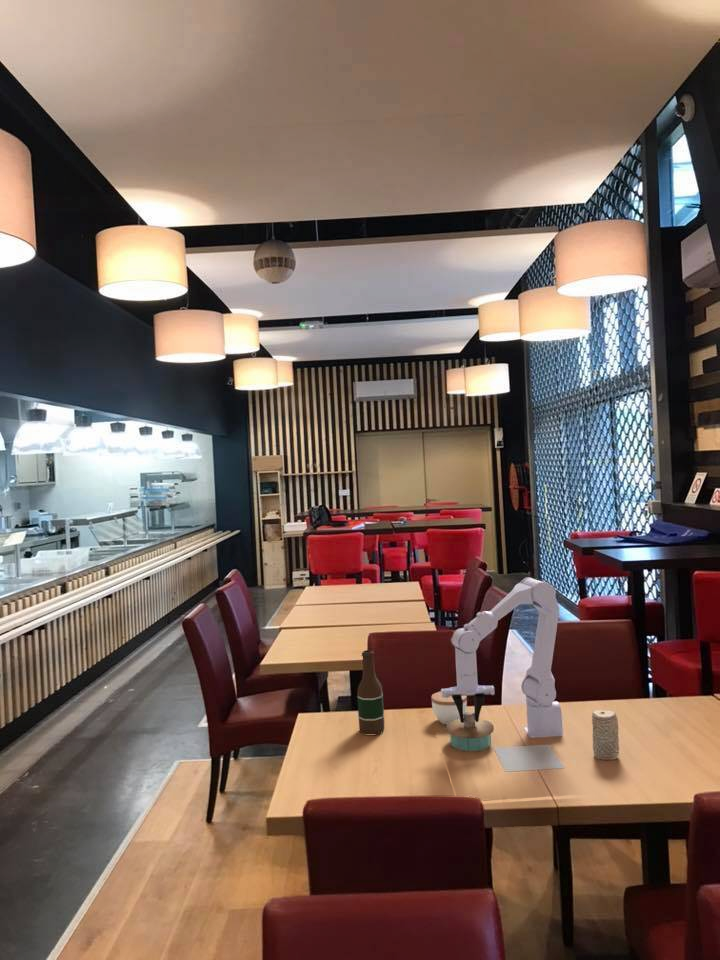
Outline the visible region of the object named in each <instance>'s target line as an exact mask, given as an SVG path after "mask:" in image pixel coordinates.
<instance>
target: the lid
mask: <svg viewBox="0 0 720 960" xmlns="http://www.w3.org/2000/svg"><path fill="white" fill-rule="evenodd" d="M494 728H495V727H494V724H493V723H492V722H490V721H488V720H486V719H483V718H479V722H476V721H475V714H474V712H472V711H466V713H464V723H461V721H460V719H457V720H453V721H451V722H449V723H448V724H447V725H446V732H447V733H448V734H449V735H450V734H451V735H453V736H456V737H460V738H480V737H485V736H487V735H490V734H492V733H493V732H494V730H495V729H494Z"/></svg>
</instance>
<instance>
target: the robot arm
mask: <svg viewBox="0 0 720 960" xmlns="http://www.w3.org/2000/svg"><path fill="white" fill-rule="evenodd" d="M556 594H557V591H556V590H555V588H554V587H553V586H552V584H550V583H549V582H546V581H541V580H537V579H535V578H533V577H525V578H523V579H522V580H521V581H520V582H518V583H517V584H515V585H514V587H513V588H512V590H511V591H510V592H508V594H507V595H506V596H504V597H503V598H502V599H501V600H500V601H499V602H498V603H496V605H494V607H493V608H492V609H491V610H490V611H487V610H484V611H478V612H477V613H476V617H474V618H473V619H472V620H470V621H469V622H468V623H465V624H463V627H461V628H457V629H456V630H454V632H453V635H452V637H451V638H450V641H451V644H452V645H453V646H454V649H455V652H454V653H455V671H456V686H451V687H447V688H441V689H440V692H441V694H442V698H446V697H450V696H452V698H453V700H454V702H455V704H456V706H457V709H458V712H459V716H460V721H461V723H464V717H463V700H462V697H461V696H473V703H474V704H473V705H474V712H473V713H474V714H475V721H476V722H479V719H480V714H481V711H482V707H483V705H484V703H485V701H486V698H485V695H491V696H494V695H495V687H494V685H479V683H478V667H477V650H478V648H479V645H480V642H481V641H482V640H483V639H484V638H486V637H487V636H488V635H489V634H491V633H492V632H493V631H494V630H495V629H497V627H498V623H499V622H498V621H500V620H501V619H502V618H504V617H505V616H507V615H508V614H509V613H511V612H512V611H513V610H514V609H516V608H517V607H519V606H520V605H532V606H533V607H534V608H535V610H536V611H538V618H537V625H536V630H535V631H536V633H535V639H534V647H533V655H532V660H531V666H530V667H529V668H528V669H527V670H526V673H525V676H524V678H523V680H522V682H521V686H520V687H521V692H522V693H523V695H525V700H526V702H525V703H526V704H525V705H526V719H527V720H526V724H527V726H525V727H523V730H525V732H526V733H527V735H528V737H529V738H531V739H534V738H549V737H563V736H564V732H563V731H564V730H563V729H564V728H563V714H562V708H561V707H562V706H561V705H560V702H559V701H557V700H555V699H556V698H557V691H556V687H555V684H556V683H555V682H556V679H555V677H554V675H553V673H552V666H553V665H552V664H553V657H554V652H555V651H554V650H555V644H556V636H557V630H558V628H557V627H558V621H559V616H560V606H559V603H558V600H557V597H556Z"/></svg>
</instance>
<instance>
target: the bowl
mask: <svg viewBox="0 0 720 960" xmlns="http://www.w3.org/2000/svg"><path fill="white" fill-rule="evenodd" d="M491 734H492V733H491ZM491 734H490V735H487V736H485V737H480V738H460V737H456V736H453V735H451V734H449V743H450V745H451V747H453V748H454V749H456V750H460V751H464V752H477V751H478V752H479V751H481V750H482V751H483V750H485V749H488V748H489V747H490V746H491V744H492V735H491Z"/></svg>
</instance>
